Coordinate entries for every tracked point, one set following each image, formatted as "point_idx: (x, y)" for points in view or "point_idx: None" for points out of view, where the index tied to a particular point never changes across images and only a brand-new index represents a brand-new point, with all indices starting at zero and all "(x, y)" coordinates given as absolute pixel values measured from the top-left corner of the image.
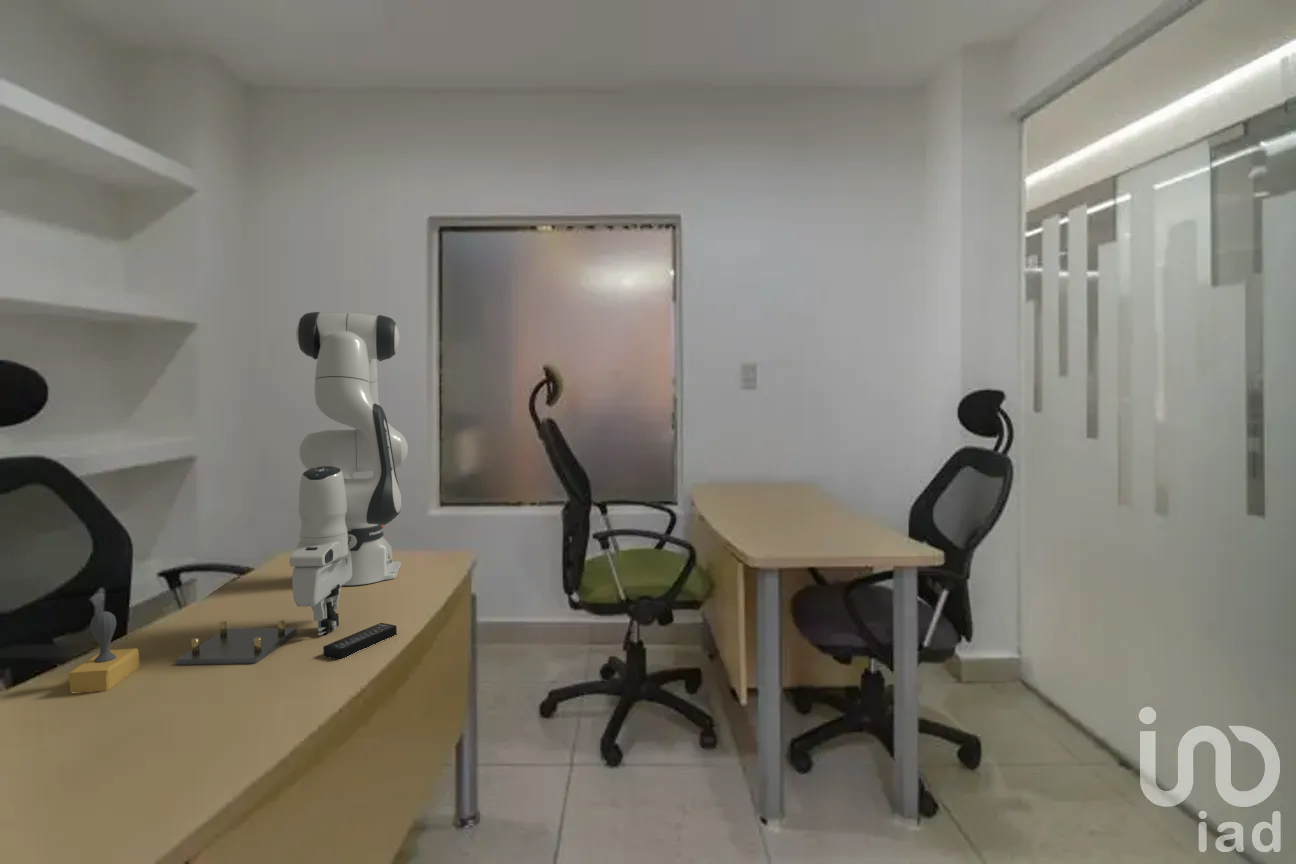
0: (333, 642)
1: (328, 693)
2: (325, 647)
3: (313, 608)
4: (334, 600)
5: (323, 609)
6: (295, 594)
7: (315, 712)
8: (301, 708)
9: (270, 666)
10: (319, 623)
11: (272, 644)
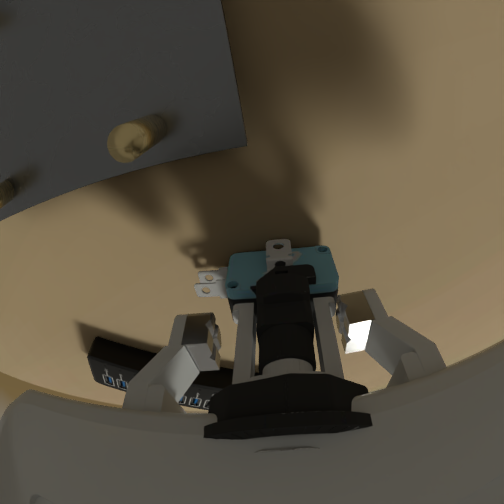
0: (115, 367)
1: (34, 373)
2: (88, 360)
3: (150, 370)
4: (368, 343)
5: (190, 380)
6: (3, 436)
7: (12, 370)
8: (4, 358)
9: (9, 261)
10: (226, 289)
11: (50, 192)
